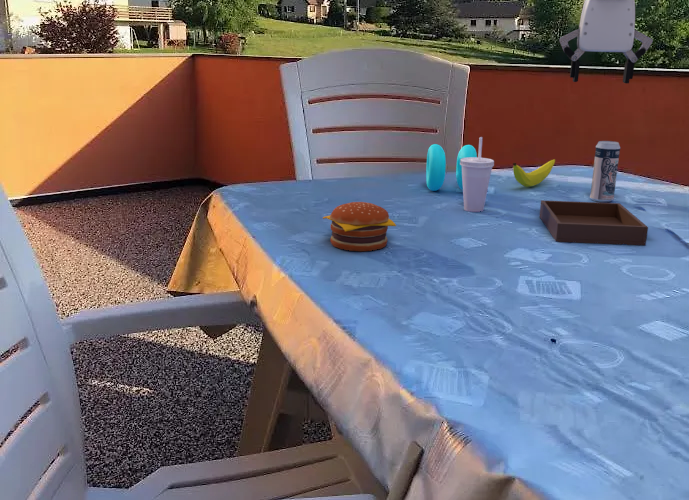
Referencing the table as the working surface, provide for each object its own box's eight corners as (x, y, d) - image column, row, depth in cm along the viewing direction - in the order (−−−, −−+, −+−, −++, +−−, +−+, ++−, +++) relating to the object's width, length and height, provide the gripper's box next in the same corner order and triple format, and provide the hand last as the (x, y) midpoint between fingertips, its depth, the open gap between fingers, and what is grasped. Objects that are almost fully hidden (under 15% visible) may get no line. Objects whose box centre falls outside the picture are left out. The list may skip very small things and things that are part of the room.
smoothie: (474, 215, 132) (479, 140, 128) (450, 208, 137) (454, 136, 133) (497, 210, 136) (503, 137, 132) (473, 204, 141) (478, 133, 137)
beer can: (603, 203, 143) (611, 144, 140) (584, 199, 147) (591, 141, 144) (618, 201, 146) (626, 143, 142) (599, 196, 150) (606, 140, 146)
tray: (617, 219, 131) (619, 203, 130) (645, 245, 115) (648, 227, 114) (539, 216, 132) (540, 200, 131) (555, 241, 116) (557, 223, 115)
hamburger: (347, 255, 107) (347, 212, 105) (320, 239, 115) (320, 199, 113) (400, 248, 111) (401, 206, 109) (371, 233, 119) (371, 194, 117)
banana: (558, 181, 166) (561, 154, 164) (517, 192, 152) (520, 163, 150) (546, 179, 168) (549, 152, 166) (505, 190, 154) (508, 161, 152)
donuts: (424, 185, 158) (427, 140, 155) (469, 186, 158) (472, 141, 155) (428, 195, 149) (430, 147, 146) (476, 196, 148) (479, 148, 145)
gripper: (654, -8, 138) (642, 82, 143) (562, -8, 141) (553, 80, 146) (663, -10, 131) (650, 84, 136) (566, -11, 134) (556, 82, 139)
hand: (600, 82), depth 141 cm, fingers open, 9 cm apart
